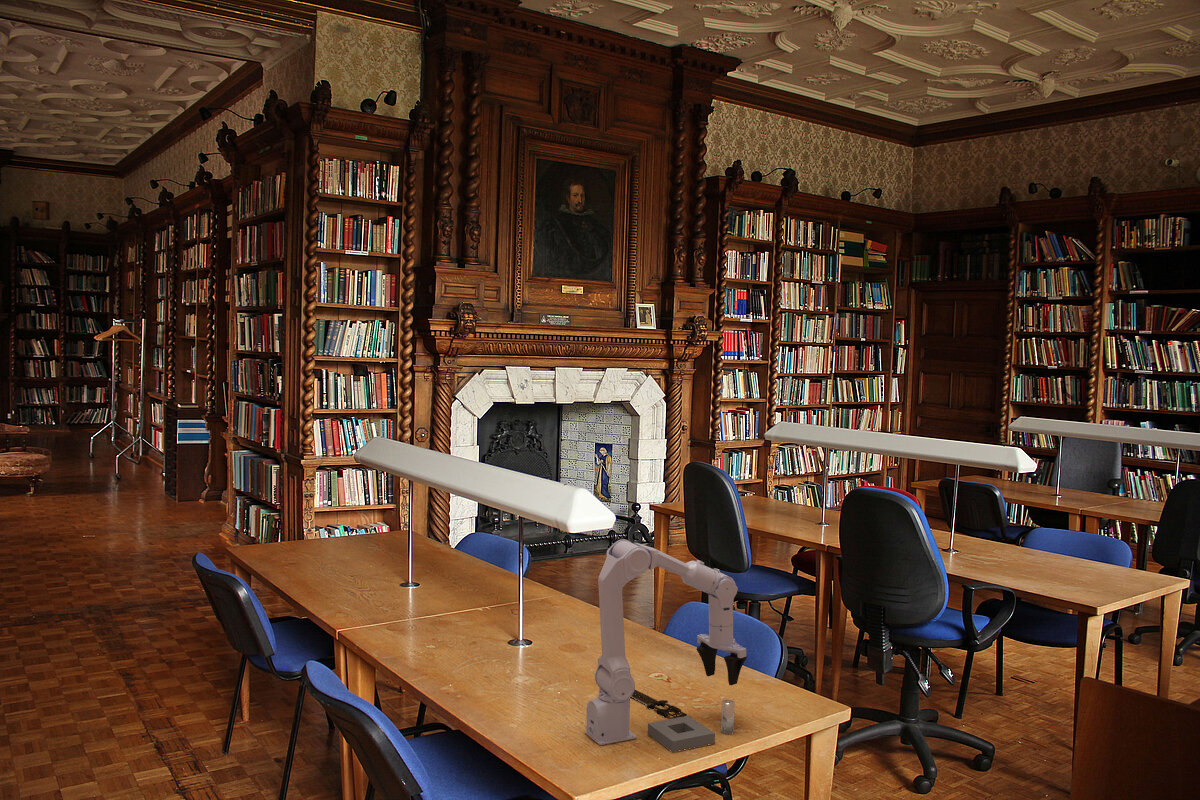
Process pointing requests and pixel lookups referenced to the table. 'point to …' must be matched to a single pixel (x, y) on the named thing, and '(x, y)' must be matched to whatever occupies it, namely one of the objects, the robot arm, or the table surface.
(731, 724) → the steel pin
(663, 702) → the knife
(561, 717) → the table surface
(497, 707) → the table surface
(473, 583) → the table surface
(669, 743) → the socket block
